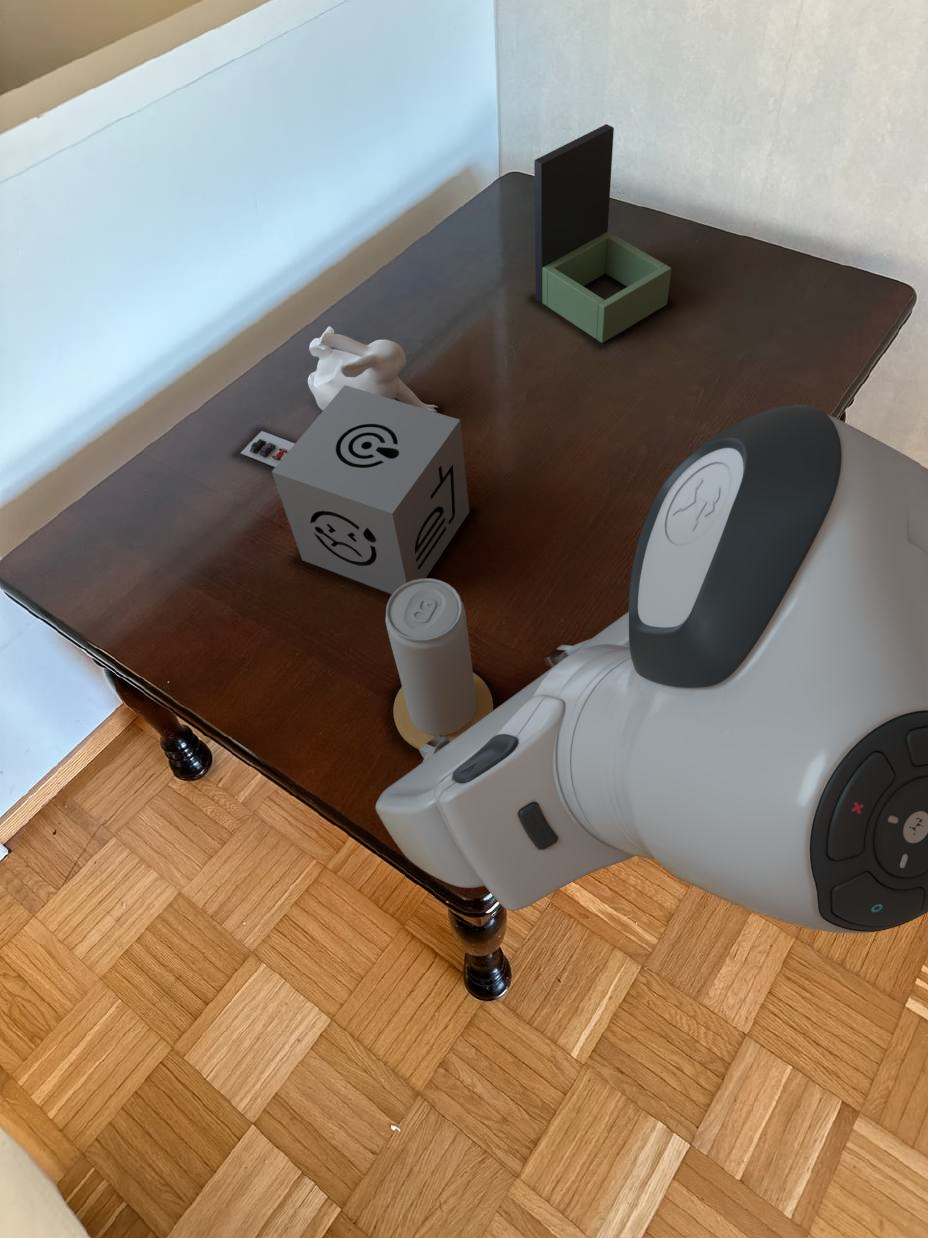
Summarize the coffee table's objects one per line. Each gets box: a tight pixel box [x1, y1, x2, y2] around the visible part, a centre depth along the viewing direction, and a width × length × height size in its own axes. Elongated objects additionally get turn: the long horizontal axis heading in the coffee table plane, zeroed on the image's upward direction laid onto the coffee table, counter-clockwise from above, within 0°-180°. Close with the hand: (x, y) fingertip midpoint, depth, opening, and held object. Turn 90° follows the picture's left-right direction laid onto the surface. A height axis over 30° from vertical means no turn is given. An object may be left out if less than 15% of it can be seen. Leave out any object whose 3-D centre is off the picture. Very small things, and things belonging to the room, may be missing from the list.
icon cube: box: [271, 385, 470, 595], centre depth 69 cm, size 10×10×10 cm
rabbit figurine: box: [307, 326, 439, 413], centre depth 78 cm, size 12×8×10 cm, turn 62°
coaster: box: [393, 672, 494, 750], centre depth 64 cm, size 7×7×1 cm
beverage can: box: [385, 578, 476, 736], centre depth 58 cm, size 5×5×12 cm
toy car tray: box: [240, 430, 296, 468], centre depth 79 cm, size 3×8×1 cm, turn 60°
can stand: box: [533, 123, 672, 344], centre depth 83 cm, size 10×9×14 cm
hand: (497, 706), depth 54 cm, fingers open, 8 cm apart
